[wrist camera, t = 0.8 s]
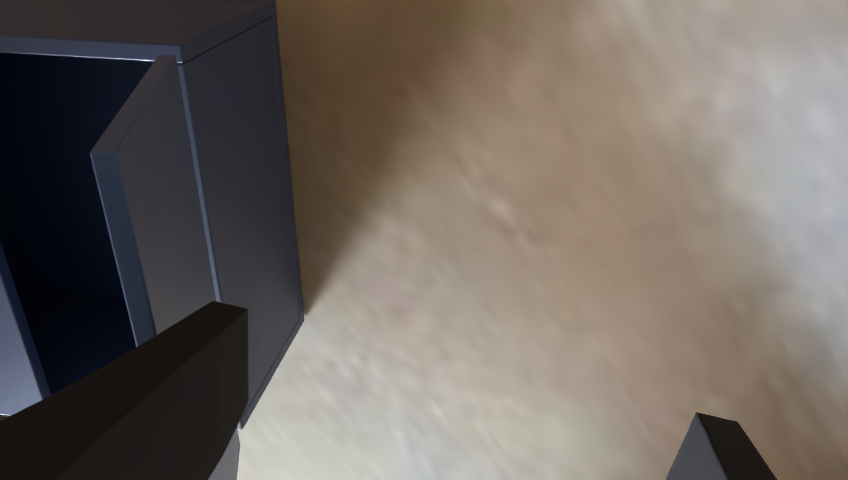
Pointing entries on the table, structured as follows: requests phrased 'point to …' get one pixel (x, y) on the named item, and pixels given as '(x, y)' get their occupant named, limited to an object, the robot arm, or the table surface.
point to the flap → (157, 213)
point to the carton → (78, 191)
